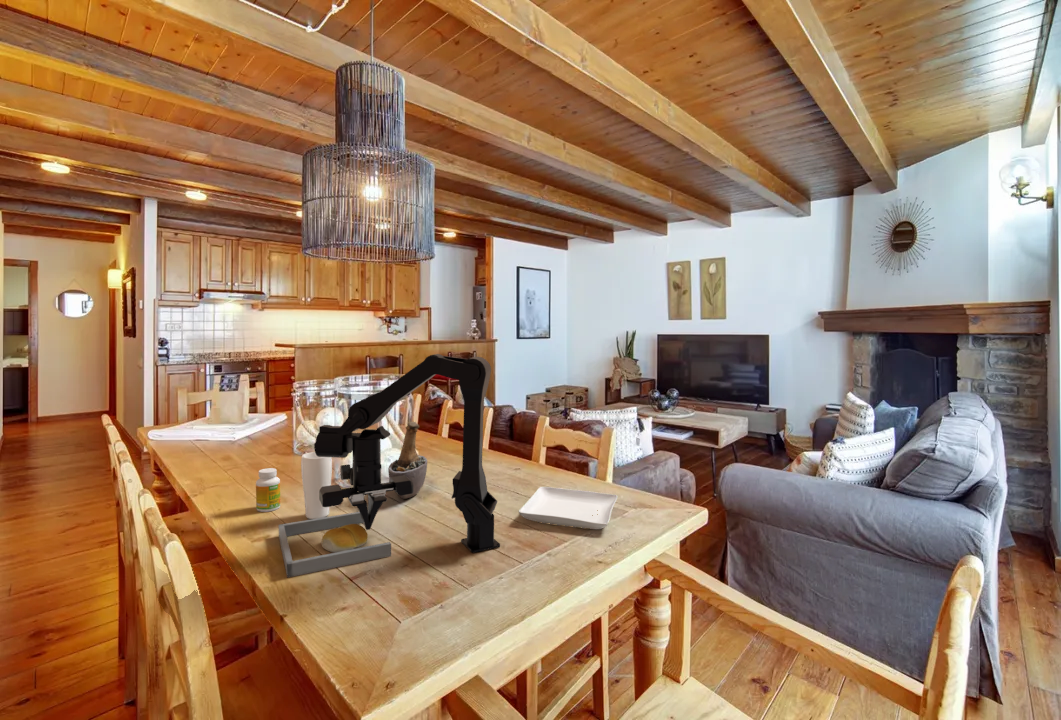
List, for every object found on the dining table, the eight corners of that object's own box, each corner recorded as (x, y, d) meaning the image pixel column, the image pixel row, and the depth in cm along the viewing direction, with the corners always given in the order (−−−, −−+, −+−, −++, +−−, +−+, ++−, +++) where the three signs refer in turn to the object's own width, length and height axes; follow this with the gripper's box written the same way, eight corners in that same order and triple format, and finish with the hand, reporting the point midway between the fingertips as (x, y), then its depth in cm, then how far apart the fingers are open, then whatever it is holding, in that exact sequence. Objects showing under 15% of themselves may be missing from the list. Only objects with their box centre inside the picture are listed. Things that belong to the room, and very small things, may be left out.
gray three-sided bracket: (391, 555, 104) (391, 543, 104) (287, 577, 95) (286, 564, 95) (367, 520, 123) (367, 510, 123) (278, 535, 113) (278, 524, 113)
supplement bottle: (270, 513, 127) (269, 474, 126) (251, 511, 128) (250, 472, 127) (285, 505, 132) (284, 468, 131) (266, 503, 133) (265, 466, 132)
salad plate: (618, 505, 136) (618, 492, 136) (607, 537, 116) (607, 522, 116) (540, 497, 142) (540, 484, 142) (516, 526, 122) (516, 511, 121)
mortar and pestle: (396, 508, 131) (396, 430, 130) (370, 491, 144) (369, 419, 142) (447, 496, 140) (448, 423, 139) (418, 481, 153) (418, 414, 152)
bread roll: (375, 542, 111) (375, 524, 111) (337, 557, 104) (337, 537, 104) (351, 532, 116) (351, 515, 116) (314, 546, 109) (314, 527, 109)
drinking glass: (300, 522, 121) (298, 459, 120) (304, 512, 127) (303, 452, 126) (331, 520, 123) (330, 457, 122) (333, 509, 129) (333, 450, 128)
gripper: (399, 445, 123) (400, 509, 124) (315, 454, 114) (316, 524, 115) (413, 456, 113) (414, 526, 114) (322, 467, 104) (323, 543, 105)
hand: (367, 529), depth 112 cm, fingers closed
